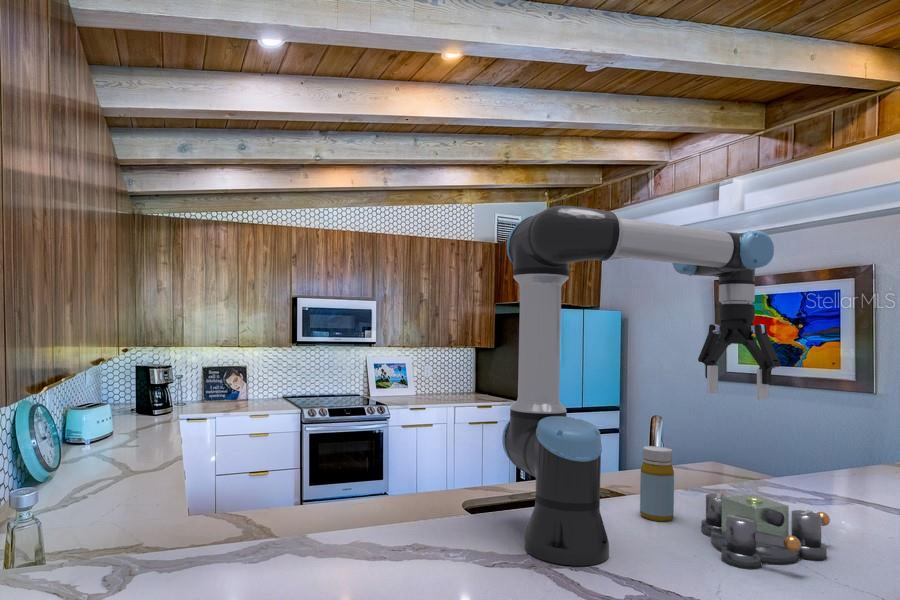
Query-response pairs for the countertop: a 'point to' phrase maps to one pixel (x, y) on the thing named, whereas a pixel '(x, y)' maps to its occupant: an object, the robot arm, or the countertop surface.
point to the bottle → (657, 484)
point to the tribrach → (768, 520)
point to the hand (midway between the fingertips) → (736, 396)
